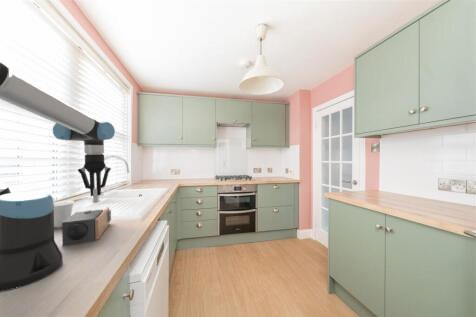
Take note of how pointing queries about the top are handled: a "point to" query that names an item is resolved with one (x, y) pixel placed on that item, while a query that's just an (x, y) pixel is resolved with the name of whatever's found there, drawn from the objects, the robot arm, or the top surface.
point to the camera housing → (80, 227)
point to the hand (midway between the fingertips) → (96, 202)
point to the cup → (62, 212)
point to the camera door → (102, 222)
